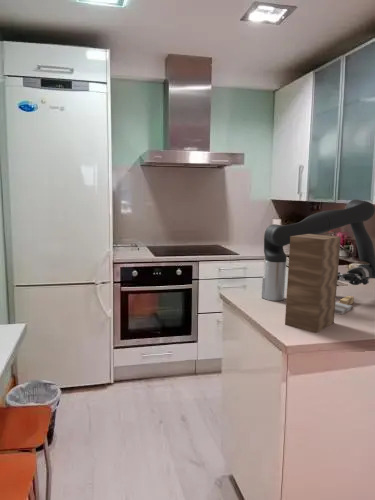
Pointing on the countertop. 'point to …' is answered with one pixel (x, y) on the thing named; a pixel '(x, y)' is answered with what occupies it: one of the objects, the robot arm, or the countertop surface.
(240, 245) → the countertop surface
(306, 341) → the countertop surface
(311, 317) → the plinth
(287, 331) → the countertop surface
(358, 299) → the countertop surface
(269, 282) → the robot arm
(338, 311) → the rectangular straight-edged part
